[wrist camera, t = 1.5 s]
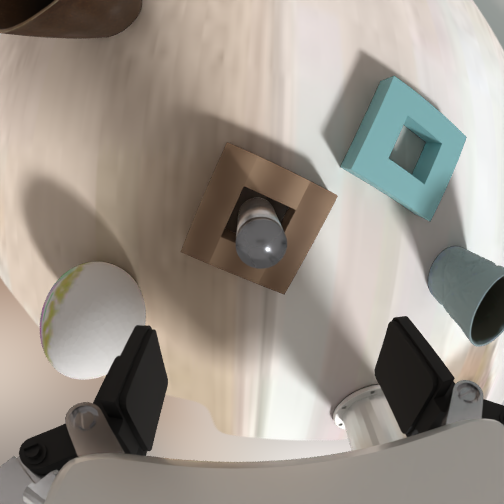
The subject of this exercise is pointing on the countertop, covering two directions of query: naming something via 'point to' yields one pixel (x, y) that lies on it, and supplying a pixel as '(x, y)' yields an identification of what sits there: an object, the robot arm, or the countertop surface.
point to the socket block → (385, 136)
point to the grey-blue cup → (470, 292)
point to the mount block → (273, 186)
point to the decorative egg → (90, 319)
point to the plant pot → (67, 17)
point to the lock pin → (259, 234)
